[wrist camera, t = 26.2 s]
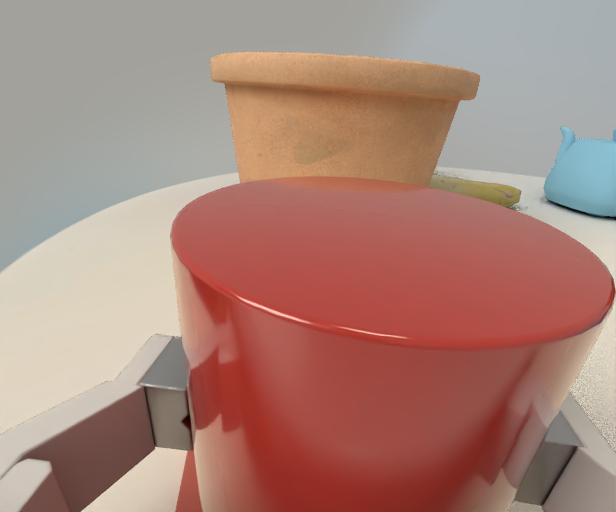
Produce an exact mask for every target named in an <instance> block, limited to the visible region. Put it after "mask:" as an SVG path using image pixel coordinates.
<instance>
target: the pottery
mask: <svg viewBox="0 0 616 512" xmlns="http://www.w3.org/2000/svg"><path fill="white" fill-rule="evenodd" d="M210 64H211V78H212V80H213V81H215V82H220V83H224V84H225V88H226V95H227V100H228V108H229V113H230V120H231V127H232V133H233V140H234V146H235V152H236V159H237V165H238V172H239V178H240V183H245V182H250V181H257V180H264V179H273V178H284V177H306V176H329V177H351V178H365V179H376V180H385V181H393V182H400V183H407V184H413V185H419V186H425V187H429V184H430V181H431V178H432V176H433V173H434V170H435V167H436V165H437V162H438V159H439V156H440V154H441V151H442V148H443V145H444V143H445V140H446V137H447V134H448V132H449V129H450V126H451V123H452V121H453V118H454V115H455V112H456V110H457V107H458V104H459V101H461V100H472V99H474V98H475V96H476V93H477V90H478V86H479V82H480V76H479V75H478V74H476V73H474V72H470V71H468V70H465V69H462V68H455V67H449V66H443V65H437V64H430V63H424V62H413V61H404V60H394V59H384V58H375V57H363V56H347V55H330V54H314V53H285V52H284V53H283V52H241V53H223V54H220V55H218V56H215V57H212V58H211V61H210Z"/></svg>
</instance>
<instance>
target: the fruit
mask: <svg viewBox="0 0 616 512" xmlns="http://www.w3.org/2000/svg"><path fill="white" fill-rule="evenodd" d="M429 187H430V188H435V189H440V190H445V191H449V192H454V193H458V194H462V195H466V196H470V197H474V198H477V199H481V200H484V201H488V202H491V203H494V204H498V205H500V206H503V207H509V206H512V205H514V204H516V203H518V202H519V200H520V195H521V191H520V190H518V189H516V188H514V187H511V186H507V185H503V184H497V183H486V182H477V181H470V180H464V179H458V178H452V177H446V176H440V175H435V174H433V176H432V178H431V181H430V184H429Z"/></svg>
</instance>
